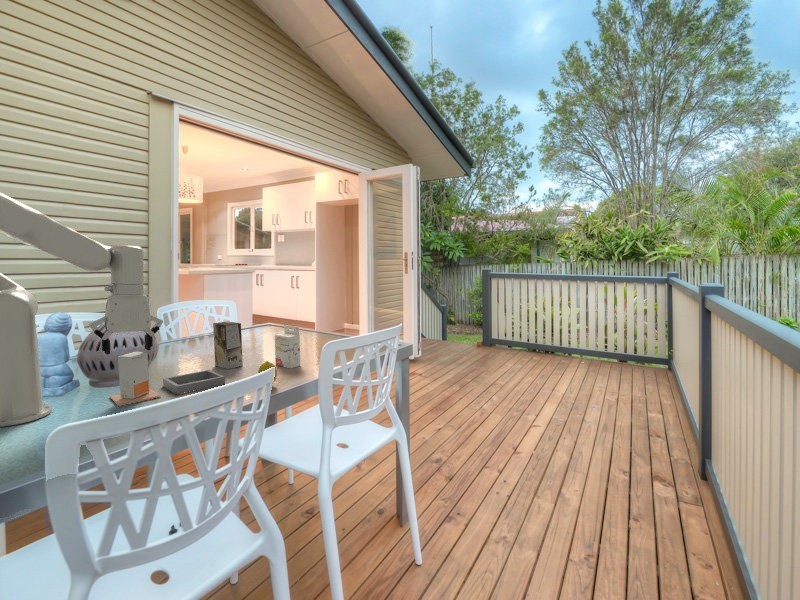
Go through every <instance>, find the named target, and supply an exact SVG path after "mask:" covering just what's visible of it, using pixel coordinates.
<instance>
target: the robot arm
mask: <svg viewBox="0 0 800 600" xmlns="http://www.w3.org/2000/svg"><path fill="white" fill-rule="evenodd" d="M0 234H1V235H4V236H6V237H8V238H11V239H13V240H14V241H17V242H18V243H21V244H24V245H26V246H29V247H33V248H34V249H35V248H36V249H38V250H41V251H43V252H45V253H47V254H48V255H52V256H54V257H56V258H58V259H61V260H62V261H65V262H67V263H69V264H71V265H73V266H75V267H77V268H80V269H82V270H84V271H87V272H99V271H110V283H109V285H104V292H109V293H110V294H109V295H107V300H106V304H105V312H104V314H105V315H104V316H102V317H101V318H98V319H97V320H96V319H95V320H94V321H91V322H89V324H88V326H89V328H90V330H91V331H92V332H93V334H94V335H96V336H97V337H98V338H100V339H101V352H103V353H104V354H105V355H107V356H108V355H110V354H111V340H110V339H109V337H111V336H112V334H114V333H115V334H117V333H130V332H131V333H134V332H143V333H145V335H144V349H145V350H147V351H151V349H152V347H153V341H154V340H153V339H154V338H153V337H154V336H155V334H156V333H157V332H158V331H159V330H160V328H161V327H162V324H163V323H164V320H163V319H160V318H157V317H156V316H153V315H151V310H150V302H149V297H148V295H146V294H144V292H145V291H144V290H145V289H144V287H145V284H144V276H145V275H144V270H145V269H144V268H145V267H144V250H143V248H142V247H140V246H137V245H125V244H124V245H123V244H117V245H113V246H112V245H105V244H102V243H100V242H98V241H96V240H94V239H92V238H90V237H88V236H86V235H84V234H82V233H80V232H79V231H76V230H74V229H72V228H70V227H67V226H66V225H64V224H62V223H60V222H58V221H56V220H55V219H52V218H51V217H50V216H48V215H47V214H45V213H42V212H40V211H38V210H36V209H34V208H33V207H31V206H28V205H26V204H24V203H22V202H20V201H18V200H16V199H14V198H12V197H10V196H8V195H7V194H5V193H2V192H0ZM38 310H39V303H38V301H37V298H36V297H35V296H34V295H33V294H32V293H31V292H30V291H28V290H27V289H25V288H24V287H23V286H21V285H19V284H18V283H16V282H15V281H13V280H12V279H11V278H9V277H7V276H6V275H4V274H2V273H1V272H0V428H2V427H9V426H10V427H11V426H14V425H20V424H25V423H30V422H32V421H36V420H39V419H42V418H44V417H45V416H48V415H50V414H51V413H52V406H51V405H49V404H44V402H43V401H44V400H43V399H44V398H43V389H42V376H41V365H40V364H41V363H40V352H39V342H38V333H37V324H36V315H37V313H38ZM151 321H152V322H154V323H155V325H154V326H153V327H151V324H152V322H151ZM103 324H104V328H105V330H104V331H101V330H99V328H98V326H100V325H103Z"/></svg>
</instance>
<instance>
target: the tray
mask: <svg viewBox="0 0 800 600" xmlns="http://www.w3.org/2000/svg"><path fill="white" fill-rule="evenodd" d="M223 384H224V385H226V376H225V375H223V374H220V373H218V372H215V371H213V370H211V369H206V370H200V371H195V372H189V373H184V374H180V375H179V374H178V375H174V376H169V377H164V378H162V387H164V388H165V389H167V390H168V389H169V390H168V391H170V392H172V393H173V392H174V393H173V394H175V395H176V394H177V396H179V395H182V394H181V393H183V394H185V393H184V392H188V393H190V392H189V391H193V390H195V391H193V392H196V391H200V390H199V389H202V390H205V388H206V389H211V388H215V387H221V386H224V385H223ZM178 394H179V395H178Z"/></svg>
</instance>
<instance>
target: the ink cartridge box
mask: <svg viewBox="0 0 800 600" xmlns="http://www.w3.org/2000/svg"><path fill="white" fill-rule="evenodd" d="M290 329H291V330H290ZM283 331H284V332H281V333H277V334H275V335H274V346H275V347H274V350H275V351H274V355H275V359H274V361H275V366H278V367H282V368H287V369H295V368H297V367H301V339H300V338H301V335H300V327H299V326H295V325H294V326H293V325H285V324H284V325H283Z"/></svg>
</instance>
